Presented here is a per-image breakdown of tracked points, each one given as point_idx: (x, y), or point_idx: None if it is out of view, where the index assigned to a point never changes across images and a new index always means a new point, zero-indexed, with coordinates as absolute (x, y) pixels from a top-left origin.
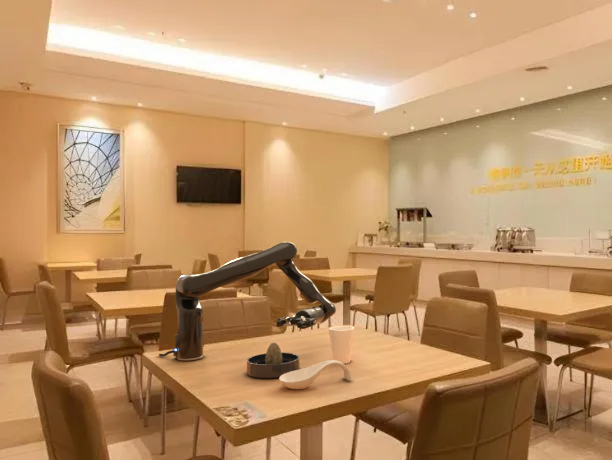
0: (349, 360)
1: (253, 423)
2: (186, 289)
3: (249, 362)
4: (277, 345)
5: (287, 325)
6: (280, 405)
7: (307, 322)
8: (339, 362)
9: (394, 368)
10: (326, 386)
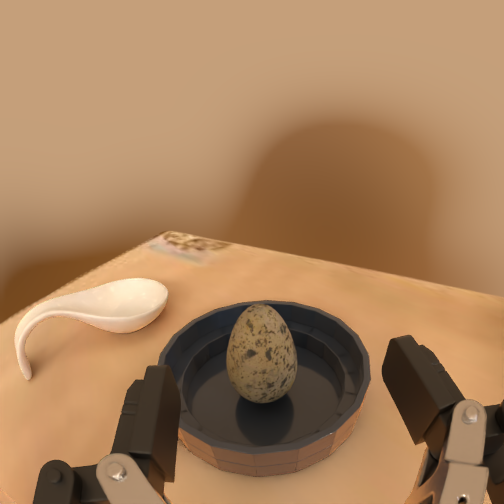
0: None
1: (156, 237)
2: None
3: (303, 305)
4: (240, 319)
5: (409, 497)
6: (140, 265)
7: (90, 468)
8: (24, 326)
9: None
10: (73, 333)
